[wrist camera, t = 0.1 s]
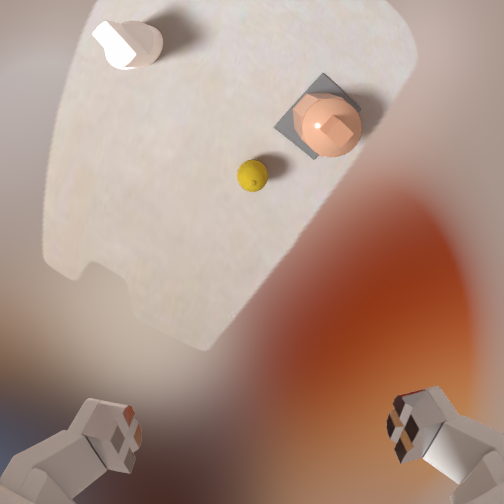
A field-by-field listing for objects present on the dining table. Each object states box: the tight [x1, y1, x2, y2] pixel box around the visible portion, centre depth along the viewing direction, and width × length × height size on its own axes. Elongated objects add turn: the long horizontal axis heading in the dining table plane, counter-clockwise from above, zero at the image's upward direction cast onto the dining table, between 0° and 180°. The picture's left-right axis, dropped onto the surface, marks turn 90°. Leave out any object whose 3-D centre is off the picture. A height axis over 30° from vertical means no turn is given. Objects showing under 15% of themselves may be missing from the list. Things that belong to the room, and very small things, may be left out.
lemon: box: [237, 160, 268, 192], centre depth 53 cm, size 6×6×8 cm
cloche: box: [293, 93, 362, 157], centre depth 44 cm, size 10×10×14 cm
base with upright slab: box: [92, 21, 163, 69], centre depth 36 cm, size 9×9×12 cm
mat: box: [274, 73, 361, 160], centre depth 50 cm, size 14×10×1 cm
